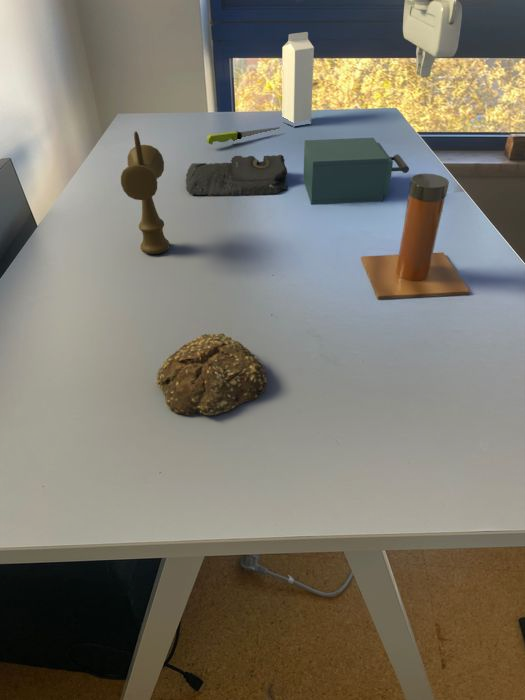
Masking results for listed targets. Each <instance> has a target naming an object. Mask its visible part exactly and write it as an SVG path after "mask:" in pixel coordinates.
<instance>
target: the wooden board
mask: <svg viewBox="0 0 525 700" xmlns="http://www.w3.org/2000/svg"><path fill="white" fill-rule="evenodd" d="M398 256H399V254H386V255H385V254H384V255H365V256H361V257H360V260H361V263H362V266H363V268H364V270H365V272H366V275H367V278H368V280H369V282H370V285H371V287H372V289H373V291H374V294H375V296H376V298H377V300H389V299H391V300H392V299H409V298H429V297H448V296H465V295H470V292H471V291H470V288H468V286H467V285H466V283H465V282H464V281H463V279H462V277H461V275H460V274H459V273H458V271H457V270H456V269H455V267H454V266H453V265H452V263H451V261H450V260H449V258H448V257H447V255H446V254H445V253H444V252H433V255H432V260H431V265H430V269H429V274H428V277H427V278H426V279H424V280H420V281H410V280H405V279H403V278H401V277H399V276H398V275H397V273H396V268H397V262H398Z"/></svg>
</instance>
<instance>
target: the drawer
mask: <svg viewBox="0 0 525 700" xmlns="http://www.w3.org/2000/svg"><path fill="white" fill-rule="evenodd" d="M377 143H378V145H379V146H380V148H381V149H382V150H383V152H384V153H385V154H386V156H387V157H388V165H387V172H386V179H385V187H384V194H383V196H389V194H390V185H391V179H392V173H393V172H402V173H403V174H407V173H408V172H409V171H410V167H409V166H408V165H407V163H406V162H405V160H404V159H403V158H402V156H401V155H400V154H395V155H394V156H390V155H389V154H388V153H387V152H386V150H385V149H384V147H383V146H382V145H381V143H380V142H377ZM394 162H395V164H396V165H397V166H396V167H395V166H394Z"/></svg>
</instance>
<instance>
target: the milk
mask: <svg viewBox="0 0 525 700" xmlns="http://www.w3.org/2000/svg"><path fill="white" fill-rule="evenodd" d="M281 50H282V53H281V54H282V58H281V59H282V61H281V62H282V65H281V66H282V67H281V70H282V71H281V73H282V74H281V79H282V80H281V82H282V83H281V84H282V85H281V86H282V87H281V89H282V90H281V92H282V93H281V94H282V95H281V100H282V101H281V116H282V117H284V118H286V119H288V120H289V121H291V122H293V123H296V122H301V121H305V120H311V121H312V110H313V86H314V85H313V84H314V83H313V80H314V55H315V46H314V45H313V44H312V42H311V41H310V40H309V32H308V31H304V32H303V31H302V32H296V33H295V32H294V33H289V34H288V40H287V42H286V43H284V45H283V46H282V48H281ZM282 117H281V118H282Z"/></svg>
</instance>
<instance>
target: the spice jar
mask: <svg viewBox="0 0 525 700" xmlns="http://www.w3.org/2000/svg"><path fill="white" fill-rule="evenodd" d="M449 184H450V181H449V179H447V178H446V177H444V176H442V175H439V174H435V173H419V174H414V175H413V176H412V177H411V178H410V183H409V187H408V197H407V204H406V209H405V215H404V221H403V226H402V233H401V238H400V246H399V250H398V255H399V256H398V262H397V268H396V273H397V275H398V276H399V277H401V278H403V279H405V280H410V281H420V280H424V279H426V278H427V277H428V274H429V269H430V265H431V260H432V255H433V253H434V251H435V246H436V242H437V236H438V232H439V228H440V223H441V217H442V213H443V208H444V204H445V200H446V198H447V194H448V190H449Z"/></svg>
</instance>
